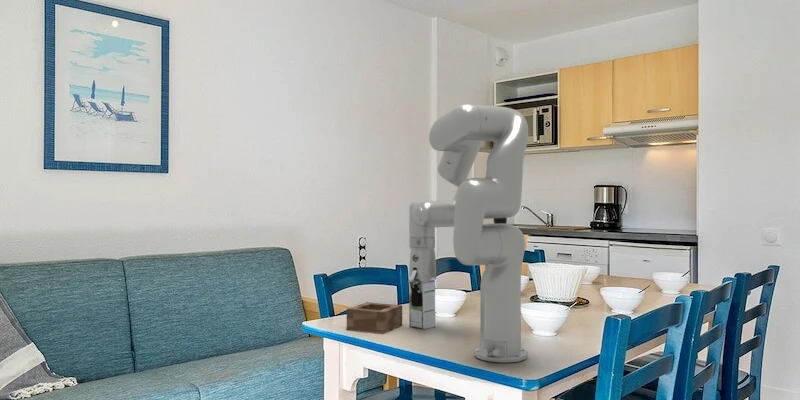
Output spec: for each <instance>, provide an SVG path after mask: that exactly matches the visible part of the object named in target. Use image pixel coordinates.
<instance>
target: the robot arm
mask: <svg viewBox="0 0 800 400" xmlns="http://www.w3.org/2000/svg"><path fill="white" fill-rule="evenodd" d="M428 134H429V135H428V141H429V144H430V146H431V148H432V149H433V150H435V151H437V152H443V153H442V155H441V158H440V159H439V162H438V166H437V173H438V174H439V176H440V177H441V178H442V179H444V181H447V182H448V183H450V184H452V185H453V186H456V187H457V189H456V192H455V194H454V196H453V199H452V200H425V201H413V202H410V203H409V208H408V209H409V211H408V212H409V213H408V215H409V216H408V217H409V220H408V222H409V223H408V227H409V228H408V229H409V233H408V234H409V235H408V236H409V238H408V239H409V241H408V247H409V249H410V252H409V253H410V254H409V267H408V273H409V274H408V277H409V278H410V279H409V278H408V284H409V283H410V288H411V305H412V306H418V307H421V306H422V293H421V289H422V282H423V283H424V284H425V283H428V282H430V280H431V278H435V280H436V279H437V260H436V259H437V258H436V252H435V249H436V245H435V244H436V228H453V236H452V237H453V239H452V240H453V241H452V243H453V253H454V255H455V257H456V260H457V261H458V263H460V264H462V265H464V266H484V265H487V266H486V268H484V270H483V273H482V276H481V278H480V291H479V292H480V295H479V296H480V303H479V304H480V310H479V312H480V315H479V316H480V319H479V320H480V322H479V323H480V342H479V343H480V346H478V347H475V348H474V349H473V355H474V357H475V358H477V359H479V360H482V361H484V362H485V361H487V362H490V363H491V362H492V363H502V364H503V363H506V364H507V363H517V362H518V363H519V362H523V361H525V360H526V359H528V351H527V350H526V349H523V348H522V340H521V339H522V336H521V335H522V334H521V333H522V323H521V322H522V317H521V316H522V314H521V313H522V311H521V310H522V307H521V306H522V304H521V303H522V300H521V299H522V296H521V294H522V291H521V289H522V267H523V263H524V262H523V260H524V256H525V252H526V251H525V250H526V238H525V235H524V233H523V232H522V230H521V229H520V228H519V227H517V226H515V225H514V224H511V223H507V224H494V223H484V220H485V219H487V220H488V219H494V218H507V219H508V218H512V217H514V216H516V215H517V214H518V213H519V211H520V209H521V204H522V192H523V191H522V190H523V177H524V176H523V175H524V161H525V160H524V158H525V153H526V149H527V145H528V141H529V125H528V122H527V120H526V118H525V116H524V115H523V114H522V113H521V112H520V111H518V110H516V109H513V108H512V107H505V106H499V105H497V106H496V105H486V104H485V105H483V104H482V105H481V104H472V103H471V104H469V103H466V104H460V105H458V106H456V107H454V108H453V109H451V110H448V111H447V112H446V113H444V114H442V115H440V116H439V117H438V118H436V120H435V121H434V122H433V124H432V125H431V128H430V131H429V133H428ZM483 142H496V144H495V145H494V146H493V148H492V149H491V151H490V152H489V154H488V157H487V159H486V173H485V177H470V178H468V177H469V175H470V172H471V170H472V168H473V165H474V163H475V161H476V159H477V155H478V153H479V151H480V149H481V147H482V144H483ZM415 280H420V282H418V281H415ZM417 285H419V286H417Z"/></svg>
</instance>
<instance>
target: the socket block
mask: <svg viewBox="0 0 800 400" xmlns="http://www.w3.org/2000/svg"><path fill="white" fill-rule="evenodd" d="M402 326H403V305H401V304H393V303H381V302H380V303H378V302H368V301H366V302H363V303H361V304H357V305H354V306H351V307H348V308H346V330H347V331H354V332H356V331H357V332H366V333H371V334H383V335H385V334H386V333H389V332H391V331H393V330H395V328H396V329H398V328H400V327H402Z"/></svg>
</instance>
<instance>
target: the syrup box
mask: <svg viewBox="0 0 800 400" xmlns="http://www.w3.org/2000/svg"><path fill="white" fill-rule="evenodd" d="M409 279H410V278H408V280H409ZM415 281H418V282H420V280H415ZM417 286H419V285H417ZM408 290H409V291H408V298H409V299H408V301H409V302H408V304H409V305H408V309H409V310H408V311H409V313H408V317H409V318H408V319H409V321H408V322H409V327H410V328H411V327H412V328H416V329H422V330H427V329H431V328H434V327H436V279H435V278H431V280H430V282H428V283H425V284H424V283H423V282H422V289H421V293H422V306H421V307H418V306H412V305H411V288H410V283H409V282H408Z"/></svg>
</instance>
